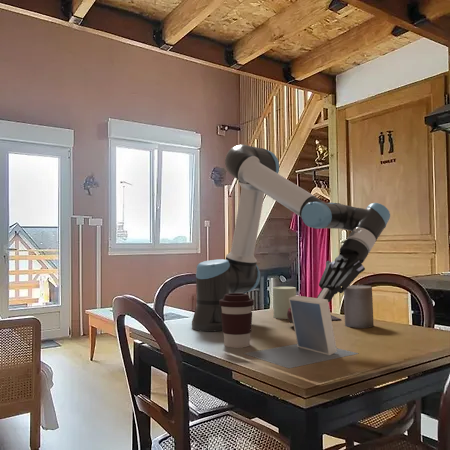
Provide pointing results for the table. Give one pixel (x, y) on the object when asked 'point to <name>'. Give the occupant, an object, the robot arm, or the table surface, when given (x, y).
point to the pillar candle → (358, 306)
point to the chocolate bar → (335, 318)
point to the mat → (296, 356)
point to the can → (282, 301)
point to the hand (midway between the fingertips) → (316, 309)
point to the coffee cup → (236, 319)
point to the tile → (313, 324)
